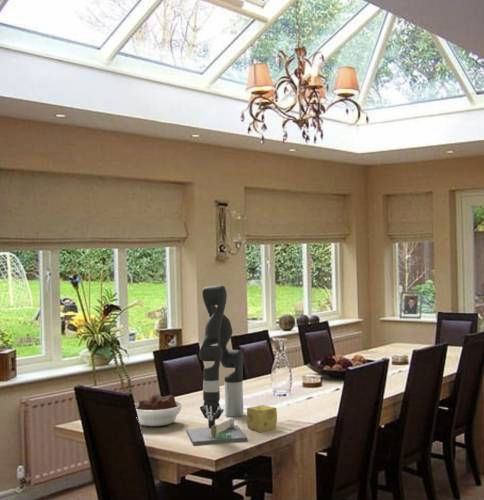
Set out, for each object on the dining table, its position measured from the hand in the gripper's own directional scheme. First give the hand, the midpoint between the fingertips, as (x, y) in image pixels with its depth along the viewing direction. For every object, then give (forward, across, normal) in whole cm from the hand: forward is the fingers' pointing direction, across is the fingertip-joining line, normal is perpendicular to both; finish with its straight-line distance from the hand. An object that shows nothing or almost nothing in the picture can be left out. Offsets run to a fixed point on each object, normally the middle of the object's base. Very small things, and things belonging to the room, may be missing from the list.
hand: (211, 428), depth 324 cm
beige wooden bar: (+2, +2, +5) cm, 6 cm away
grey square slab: (+4, +1, +2) cm, 4 cm away
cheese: (+4, +10, +24) cm, 26 cm away
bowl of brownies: (+4, -39, +4) cm, 39 cm away
